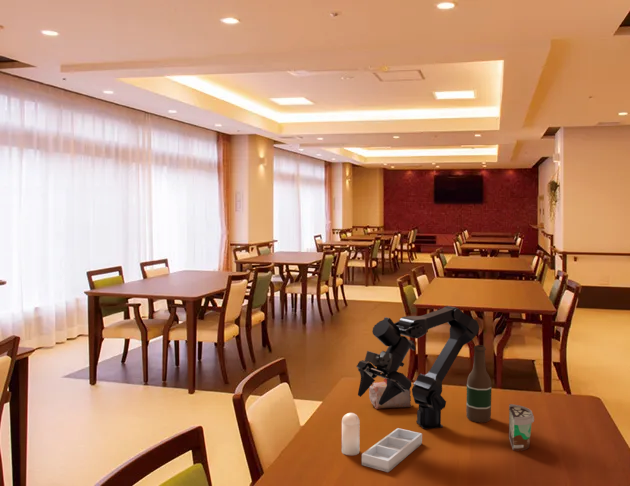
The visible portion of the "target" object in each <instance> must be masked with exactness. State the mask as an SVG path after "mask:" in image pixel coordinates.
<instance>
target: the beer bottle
mask: <svg viewBox="0 0 630 486" xmlns="http://www.w3.org/2000/svg"><path fill="white" fill-rule="evenodd" d="M473 350H474V353H473V354H474V356H473V366H472V370H471V371H470V373H469V374H468V376H467V378H466V380H467V381H466V401H465V402H466V405H465V406H466V408H465V411H466V413H465V415H466V418H467V419H468V420H469V421H471V422H473V423H474V422H475V423H487V422H489V421H491V419H492V388H493V387H492V380H491V377H490V375H489V373H488V372H487V368H486V350H487V348H486V346H485V345H482V344H476V345H474V346H473Z"/></svg>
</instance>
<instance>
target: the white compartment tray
mask: <svg viewBox="0 0 630 486" xmlns="http://www.w3.org/2000/svg"><path fill="white" fill-rule="evenodd" d="M421 445H423V433H421V432H417V431H413V430H409V429H403V428H399V427H397V428H396V429H394V430H393V431H392V432H390V433H389V434H387V435H386V436H385V437H383V438H382V439H380V440H379V441H378V442H376V443H375V444H374V445H372V446H371V447H369V448H367V450H365V451H364V452H362V453H361V466H364V467H368V468H371V469H374V470H379V471H382V472H385V473H389V472H390V471H392V470H393V469H394V468H395V467H397V466H398V465H399V464H400V463H402V461H403V460H405V459H406V458H407V457H408V456H409V455H411V454H412V453H413V452H414V451H415V450H417V449H418V448H419V447H420V446H421Z"/></svg>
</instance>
